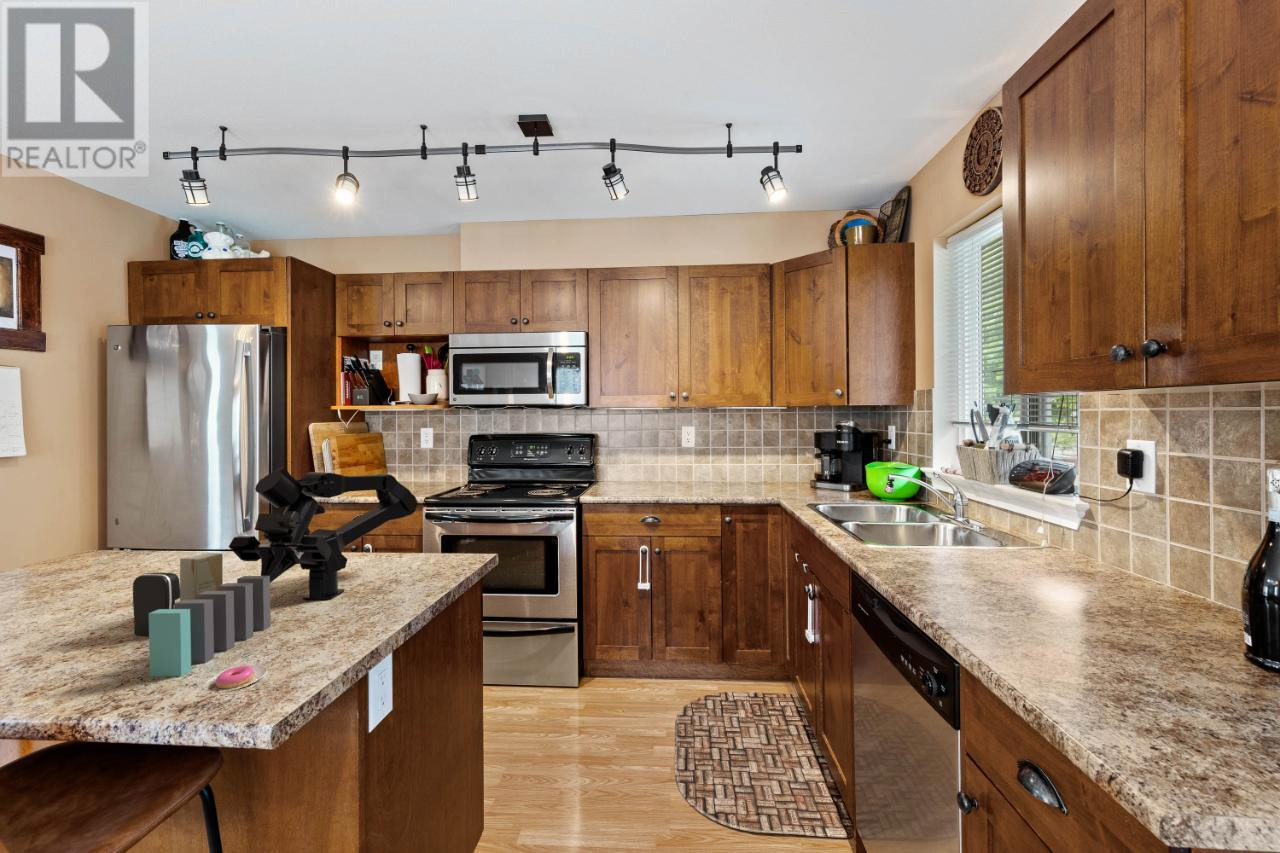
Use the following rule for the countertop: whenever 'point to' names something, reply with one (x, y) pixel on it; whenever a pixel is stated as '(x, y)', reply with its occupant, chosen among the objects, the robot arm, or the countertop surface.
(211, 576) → the skincare box
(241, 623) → the domino
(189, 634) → the domino
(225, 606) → the domino
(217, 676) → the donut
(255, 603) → the domino
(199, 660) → the domino
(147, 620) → the black rounded upright block
